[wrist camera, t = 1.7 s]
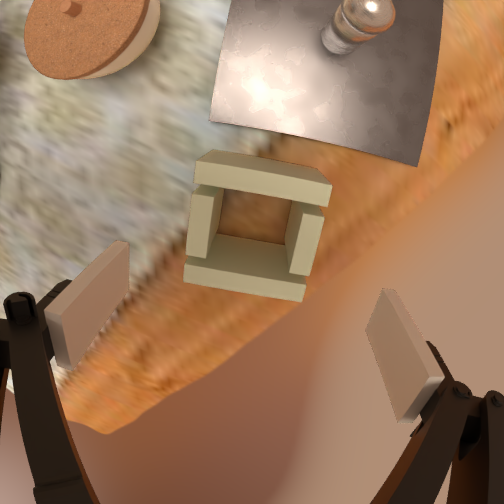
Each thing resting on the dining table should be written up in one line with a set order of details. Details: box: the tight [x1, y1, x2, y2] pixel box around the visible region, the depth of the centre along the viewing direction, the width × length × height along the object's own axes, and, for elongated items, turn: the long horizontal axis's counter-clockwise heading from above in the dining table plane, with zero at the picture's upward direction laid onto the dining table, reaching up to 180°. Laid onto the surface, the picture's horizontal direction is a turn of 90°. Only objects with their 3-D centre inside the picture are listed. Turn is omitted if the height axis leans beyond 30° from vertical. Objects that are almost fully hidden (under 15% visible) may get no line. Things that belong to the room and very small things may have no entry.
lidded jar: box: [24, 0, 160, 80], centre depth 18 cm, size 11×11×9 cm
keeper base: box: [209, 0, 443, 167], centre depth 17 cm, size 18×18×11 cm
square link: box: [183, 150, 332, 302], centre depth 25 cm, size 9×9×7 cm
